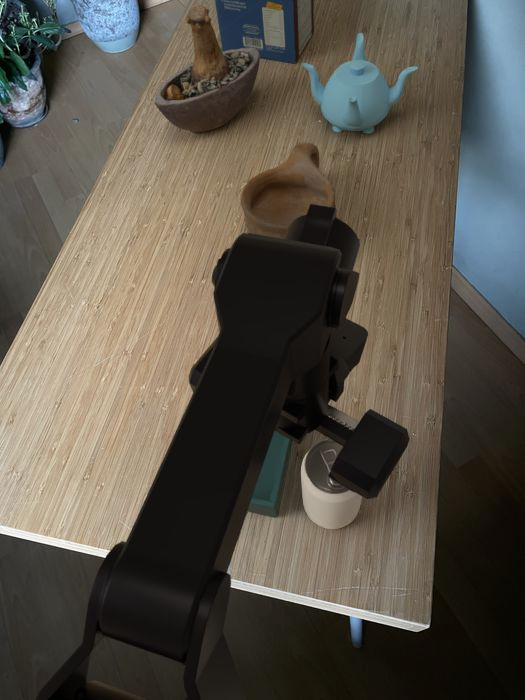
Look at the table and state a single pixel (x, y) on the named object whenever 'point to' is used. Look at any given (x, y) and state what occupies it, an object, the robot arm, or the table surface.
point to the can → (326, 488)
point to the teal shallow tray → (272, 477)
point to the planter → (208, 80)
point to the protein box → (266, 26)
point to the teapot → (356, 93)
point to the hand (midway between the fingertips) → (297, 446)
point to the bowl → (286, 193)
